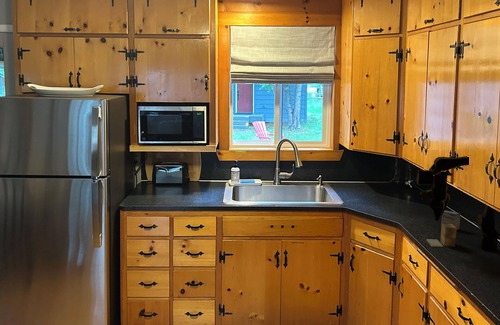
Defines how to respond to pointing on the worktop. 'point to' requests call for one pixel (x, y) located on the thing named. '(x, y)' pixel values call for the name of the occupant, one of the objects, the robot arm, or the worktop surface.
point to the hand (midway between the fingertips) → (438, 218)
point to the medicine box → (451, 218)
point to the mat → (434, 243)
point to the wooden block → (448, 234)
